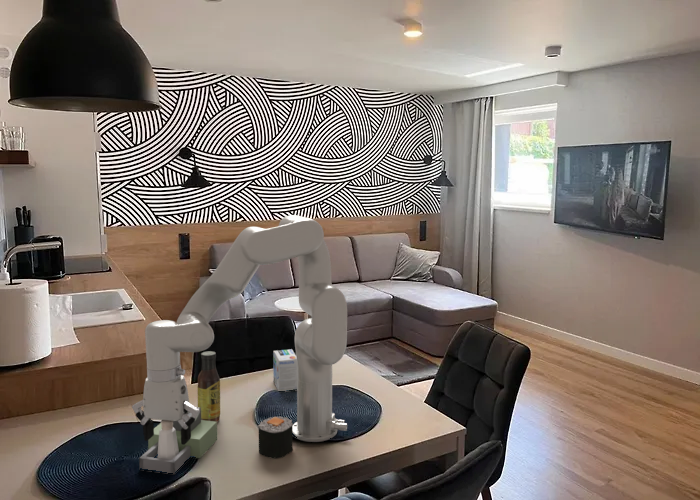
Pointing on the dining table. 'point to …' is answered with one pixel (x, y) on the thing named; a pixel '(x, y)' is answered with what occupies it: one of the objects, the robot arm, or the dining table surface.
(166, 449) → the pepper shaker
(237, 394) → the dining table surface
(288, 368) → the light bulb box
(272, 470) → the dining table surface
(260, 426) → the sushi
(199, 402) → the sauce bottle
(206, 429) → the green and grey machine
